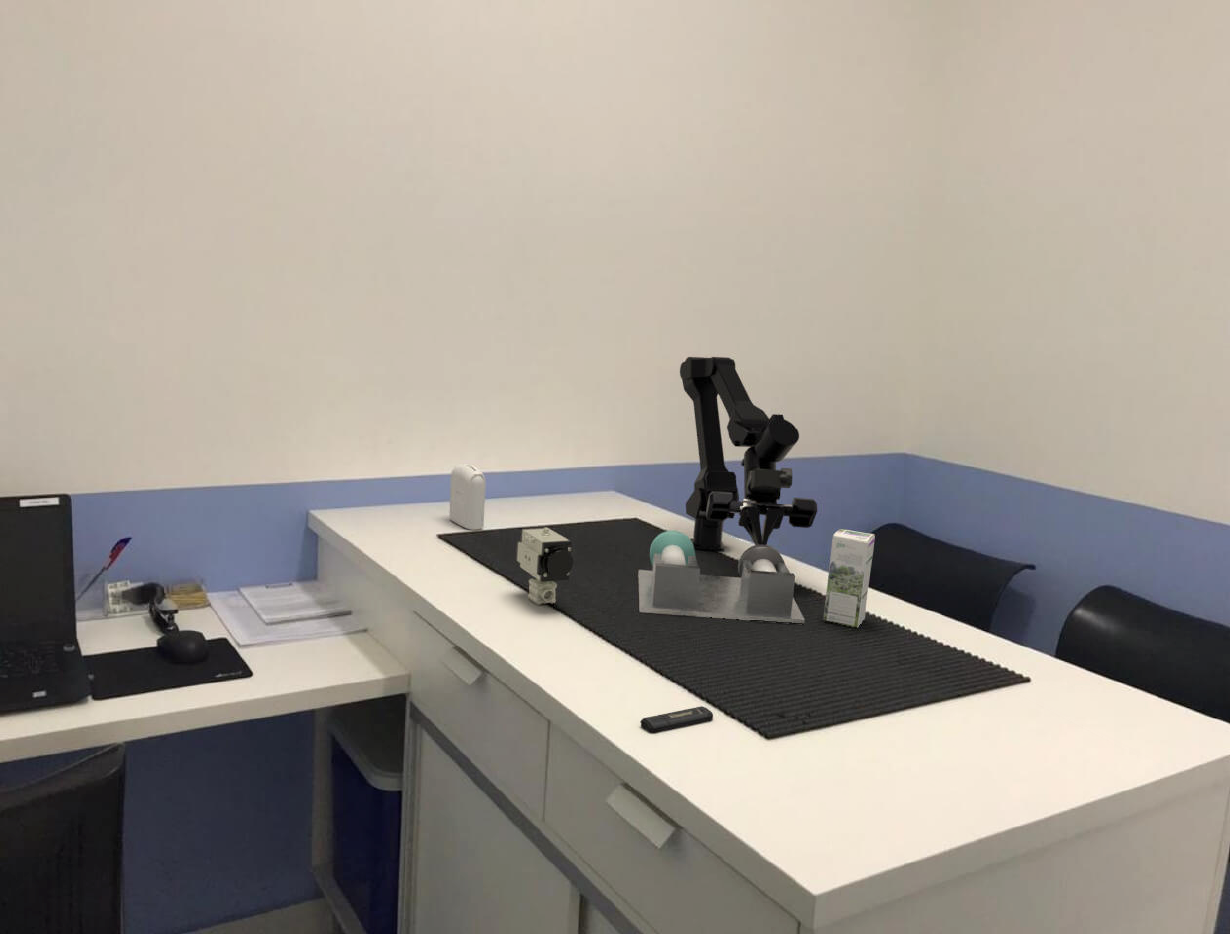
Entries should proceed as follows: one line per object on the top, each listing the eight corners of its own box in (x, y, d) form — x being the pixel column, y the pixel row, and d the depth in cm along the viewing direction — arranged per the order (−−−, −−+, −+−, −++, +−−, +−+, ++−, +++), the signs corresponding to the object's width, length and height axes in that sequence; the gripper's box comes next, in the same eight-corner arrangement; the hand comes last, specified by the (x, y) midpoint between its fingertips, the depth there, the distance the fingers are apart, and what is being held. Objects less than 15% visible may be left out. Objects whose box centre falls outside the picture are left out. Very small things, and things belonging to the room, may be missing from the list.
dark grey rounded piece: (736, 586, 177) (740, 542, 175) (781, 590, 177) (786, 546, 175) (743, 607, 166) (748, 560, 164) (791, 611, 166) (796, 564, 164)
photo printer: (446, 519, 214) (449, 460, 211) (465, 518, 216) (468, 460, 214) (466, 531, 205) (469, 470, 203) (486, 530, 207) (489, 469, 205)
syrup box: (865, 619, 168) (876, 533, 165) (857, 629, 162) (868, 540, 160) (830, 612, 170) (840, 527, 167) (822, 622, 165) (832, 534, 162)
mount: (638, 574, 184) (641, 533, 183) (784, 585, 184) (788, 545, 183) (639, 612, 163) (643, 566, 161) (804, 624, 163) (809, 579, 161)
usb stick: (650, 737, 119) (651, 724, 119) (637, 728, 121) (638, 715, 121) (714, 723, 124) (715, 711, 124) (701, 715, 126) (702, 703, 126)
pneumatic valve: (539, 589, 171) (544, 518, 168) (570, 611, 161) (576, 536, 158) (508, 592, 168) (512, 520, 166) (538, 614, 158) (543, 538, 156)
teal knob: (648, 572, 182) (651, 528, 180) (692, 575, 182) (696, 532, 180) (649, 591, 170) (653, 545, 169) (696, 594, 170) (700, 548, 169)
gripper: (713, 445, 179) (713, 522, 170) (821, 454, 179) (826, 531, 170) (706, 481, 188) (705, 556, 179) (808, 489, 188) (812, 564, 179)
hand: (761, 551), depth 176 cm, fingers closed
